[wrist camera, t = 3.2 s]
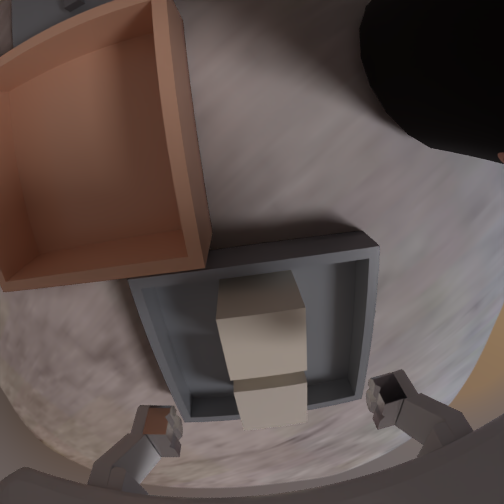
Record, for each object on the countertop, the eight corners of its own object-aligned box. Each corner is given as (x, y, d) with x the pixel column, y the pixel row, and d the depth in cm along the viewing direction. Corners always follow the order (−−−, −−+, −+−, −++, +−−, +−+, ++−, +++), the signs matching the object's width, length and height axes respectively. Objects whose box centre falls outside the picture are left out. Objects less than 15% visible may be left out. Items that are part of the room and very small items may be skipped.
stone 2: (233, 346, 19) (233, 392, 15) (295, 338, 19) (307, 382, 15) (241, 387, 20) (243, 430, 17) (297, 379, 20) (307, 422, 17)
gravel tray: (140, 259, 17) (127, 279, 15) (361, 230, 17) (380, 245, 15) (187, 398, 21) (184, 422, 19) (352, 376, 21) (361, 398, 19)
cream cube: (219, 278, 17) (216, 319, 13) (290, 268, 17) (305, 307, 13) (230, 334, 18) (230, 380, 15) (294, 326, 18) (307, 370, 15)
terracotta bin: (8, 87, 12) (-38, 85, 8) (182, 20, 12) (165, -15, 8) (40, 259, 16) (3, 292, 12) (212, 232, 16) (205, 268, 12)
